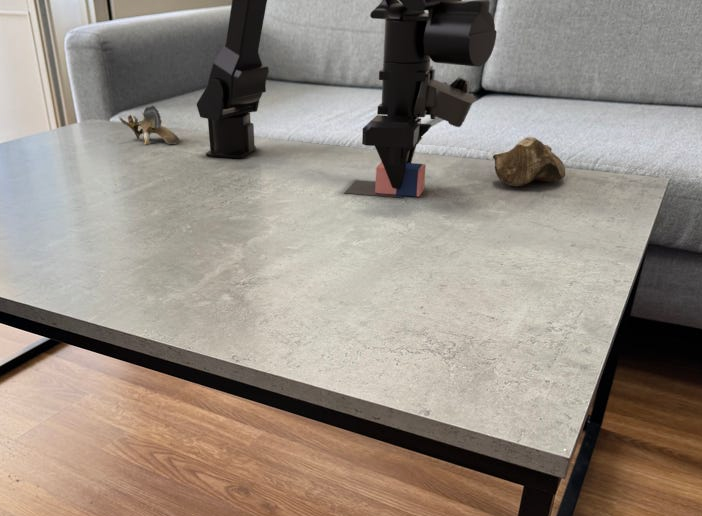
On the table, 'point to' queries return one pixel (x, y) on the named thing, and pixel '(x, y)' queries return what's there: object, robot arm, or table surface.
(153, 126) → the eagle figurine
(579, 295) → the table surface
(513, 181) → the fossilized seashell
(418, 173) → the eraser
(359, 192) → the dark brown rectangular plate
